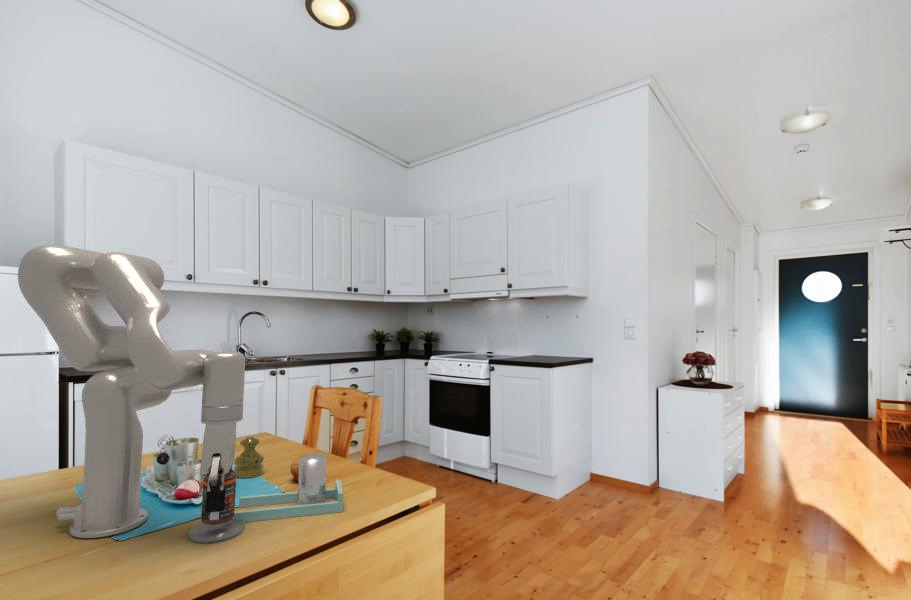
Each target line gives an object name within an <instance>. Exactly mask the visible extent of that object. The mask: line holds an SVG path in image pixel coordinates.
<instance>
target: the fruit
mask: <svg viewBox="0 0 911 600" xmlns="http://www.w3.org/2000/svg"><path fill="white" fill-rule="evenodd" d="M309 454H317V453H316V452H304V453H301V454H299V456H296V458H294V459H293V460H292V461H291V464H290V472H291V476H292V477H293V478H294V480H295V481H297V482H299V458H300V457H302V456H304V455H309Z"/></svg>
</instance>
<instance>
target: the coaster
mask: <svg viewBox="0 0 911 600" xmlns="http://www.w3.org/2000/svg"><path fill="white" fill-rule="evenodd" d="M245 529H246V522H244V521H242V520H234V517H233V518H232V519H231V520H230V521H228V522H225V523H222V524H217V525H209V524H204V523H203V522H201V523H198V524H197V525H194V526H193V527H192V528H191V529H190V530H189V531H188V536H187V537H188V540H189V541H190V542H193V543H195V544H215V543H222V542H226V541H228V540H232V539H233V538H236V537H238V536H239V535H242V533H243V532H244V531H245Z"/></svg>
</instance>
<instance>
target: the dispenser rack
mask: <svg viewBox="0 0 911 600" xmlns="http://www.w3.org/2000/svg"><path fill="white" fill-rule="evenodd" d="M334 483H335V484H334V485H335V486H334V487H335V488H326V495H325V500H332V499H334V500H335V499H336V500H335V501H327V502H326V501H325V503H316V504H306V505H298V504H296V505H289V506H278V507H277V506H275V507H268V508H267V507H266V508H258V509H257V508H256V509H247V510H238V511H235V512H234V517H233V518H234V520H242V521H244V522H245V523H248V522H258V521H267V520H268V521H269V520H276V519H288V518H294V517H295V518H296V517H304V516H307V517H308V516H314V515H325V514H333V513H342V512H343V510H344V509H343V505H344V493H343V487H342V483H341V480H340V479H335V482H334ZM288 503H289V504H291V503H298V491H291V492H282V493H281V492H280V493H269V494H260V495H259V494H258V495H257V494H256V495H244V496H239V498H238V508H249V507H259V506H260V507H261V506H269V505H279V504H282V505H283V504H288Z"/></svg>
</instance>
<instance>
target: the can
mask: <svg viewBox="0 0 911 600" xmlns="http://www.w3.org/2000/svg"><path fill="white" fill-rule="evenodd" d="M327 461H328V459H327V455H326V454H321V453H316V454H309V455H304V456H302V457H300V458H299V481H297V482H298V484H297V485H298V487H297V490H298V491H297V492H298V502H297V505H306V504H316V503H326V499H325V495H326V489H327V484H326V483H327V463H328V462H327Z"/></svg>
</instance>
